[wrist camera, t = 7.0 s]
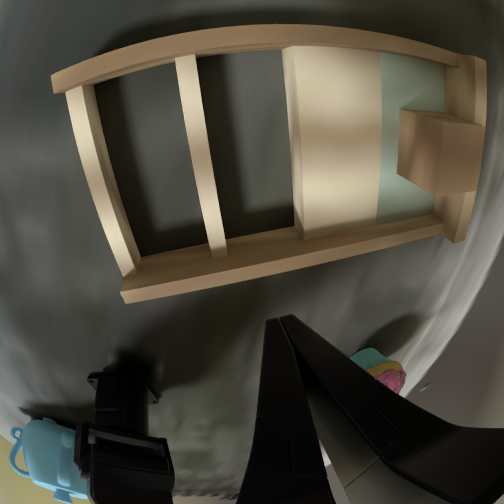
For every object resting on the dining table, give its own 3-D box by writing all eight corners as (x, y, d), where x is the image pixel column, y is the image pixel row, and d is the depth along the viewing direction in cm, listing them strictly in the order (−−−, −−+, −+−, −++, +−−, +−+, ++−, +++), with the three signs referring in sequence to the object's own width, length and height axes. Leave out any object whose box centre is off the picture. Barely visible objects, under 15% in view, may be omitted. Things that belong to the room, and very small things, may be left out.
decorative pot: (56, 444, 36) (53, 502, 25) (6, 406, 27) (-5, 476, 16) (124, 450, 39) (128, 515, 28) (81, 414, 30) (76, 500, 19)
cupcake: (398, 335, 32) (445, 408, 22) (367, 375, 36) (402, 442, 26) (347, 340, 30) (394, 430, 20) (317, 383, 34) (350, 462, 24)
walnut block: (439, 169, 18) (476, 190, 14) (396, 173, 17) (435, 197, 14) (443, 112, 15) (485, 126, 12) (399, 109, 15) (443, 121, 11)
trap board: (427, 211, 22) (464, 240, 18) (132, 271, 20) (122, 321, 15) (437, 55, 14) (486, 61, 10) (76, 75, 12) (36, 75, 8)
